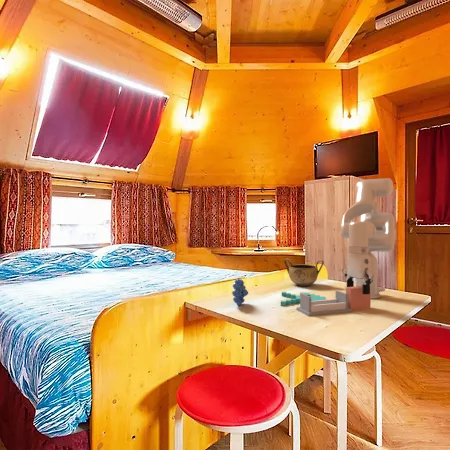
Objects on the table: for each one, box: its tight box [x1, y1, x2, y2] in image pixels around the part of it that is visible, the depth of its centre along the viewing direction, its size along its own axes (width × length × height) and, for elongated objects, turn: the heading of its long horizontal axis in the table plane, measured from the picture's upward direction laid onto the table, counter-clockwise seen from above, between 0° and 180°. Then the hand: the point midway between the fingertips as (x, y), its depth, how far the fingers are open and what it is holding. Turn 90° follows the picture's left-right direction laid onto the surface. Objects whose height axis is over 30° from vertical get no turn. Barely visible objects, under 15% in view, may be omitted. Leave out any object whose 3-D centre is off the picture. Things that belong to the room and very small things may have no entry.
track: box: [296, 290, 353, 317], centre depth 129 cm, size 20×9×7 cm, turn 107°
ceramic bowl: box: [283, 258, 325, 287], centre depth 181 cm, size 22×17×15 cm
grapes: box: [231, 278, 249, 307], centre depth 137 cm, size 12×7×12 cm, turn 156°
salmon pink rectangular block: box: [345, 285, 372, 311], centre depth 133 cm, size 10×3×9 cm, turn 107°
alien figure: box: [280, 291, 328, 307], centre depth 145 cm, size 20×2×20 cm
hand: (357, 291), depth 132 cm, fingers open, 9 cm apart
